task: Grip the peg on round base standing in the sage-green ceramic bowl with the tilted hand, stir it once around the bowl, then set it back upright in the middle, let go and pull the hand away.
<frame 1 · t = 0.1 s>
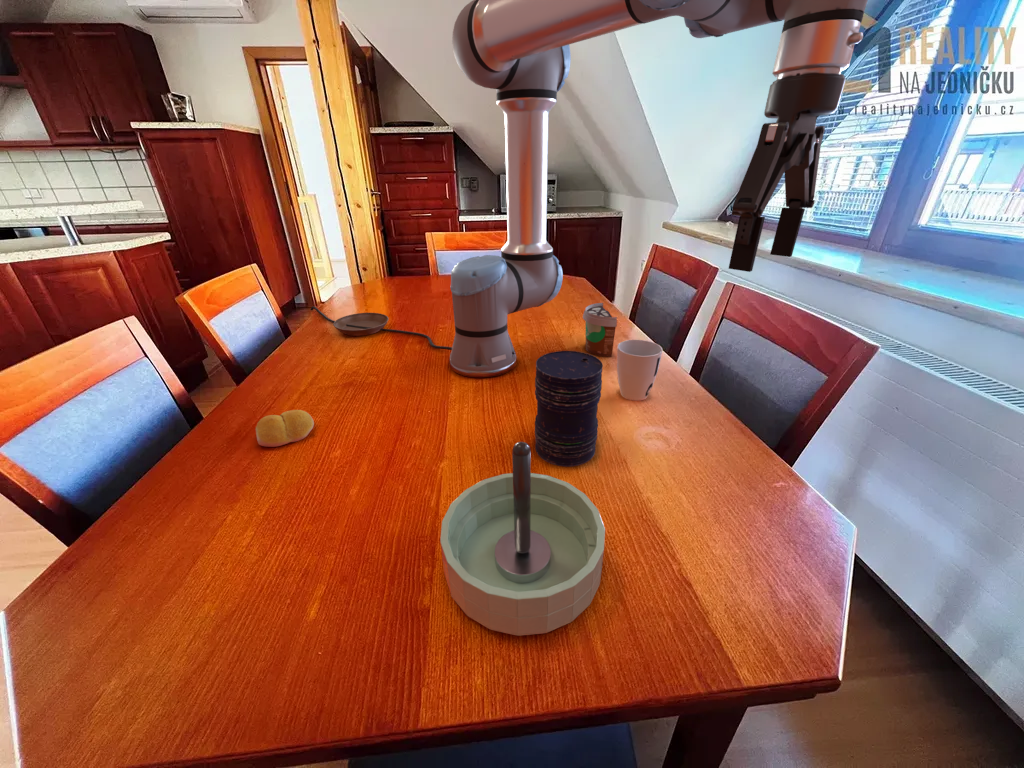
hand: (761, 262, 59), 28 cm above the table, tool pointing down, fingers open, 13 cm apart
peg on round base: (522, 559, 48), point 1 cm above the table, touching bowl
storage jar: (565, 448, 68), on the table
bowl: (522, 562, 49), on the table
food container: (593, 350, 104), on the table
bread roll: (286, 435, 73), on the table
cup: (633, 395, 84), on the table
saucer: (363, 330, 120), on the table
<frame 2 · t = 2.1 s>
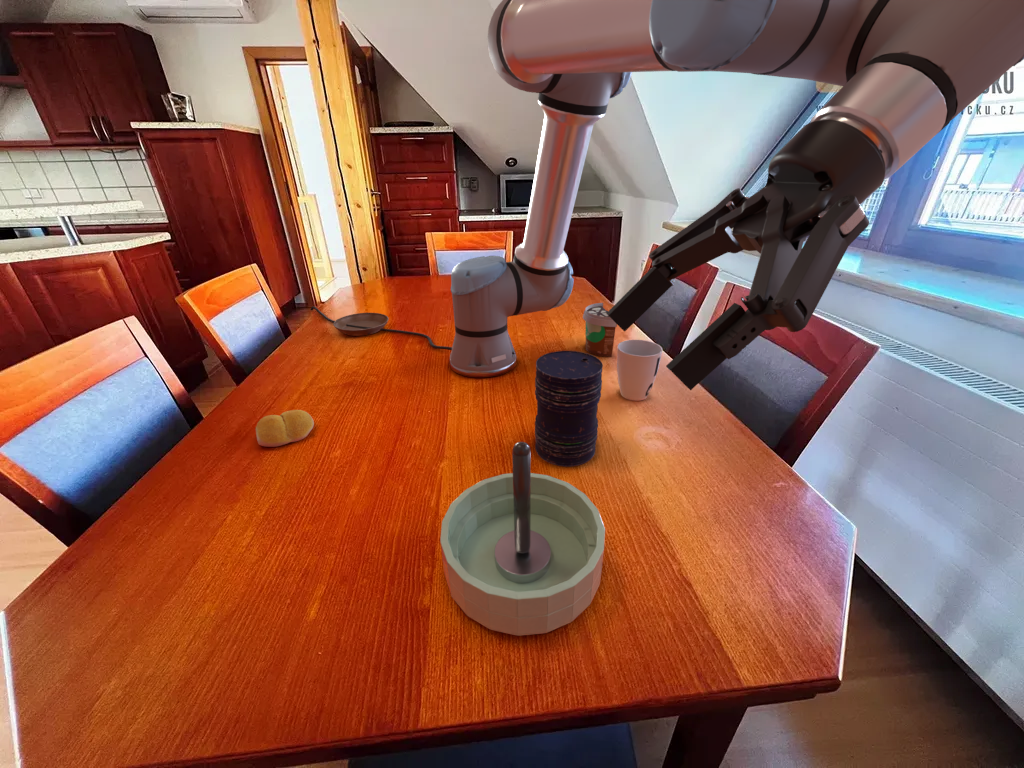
hand: (641, 346, 38), 26 cm above the table, tool tilted 45°, fingers open, 13 cm apart
nothing on the table moved.
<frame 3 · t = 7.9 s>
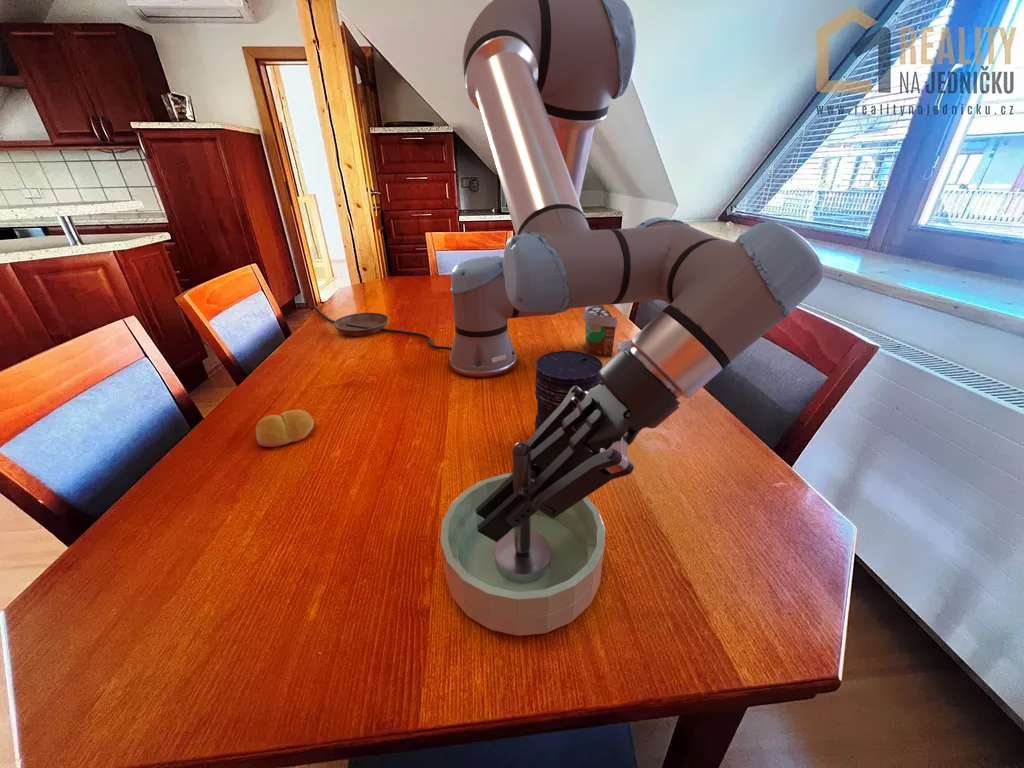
hand: (486, 525, 45), 7 cm above the table, tool tilted 45°, fingers closed on peg on round base, 2 cm apart
peg on round base: (522, 559, 48), point 1 cm above the table, touching gripper
everything else where it was.
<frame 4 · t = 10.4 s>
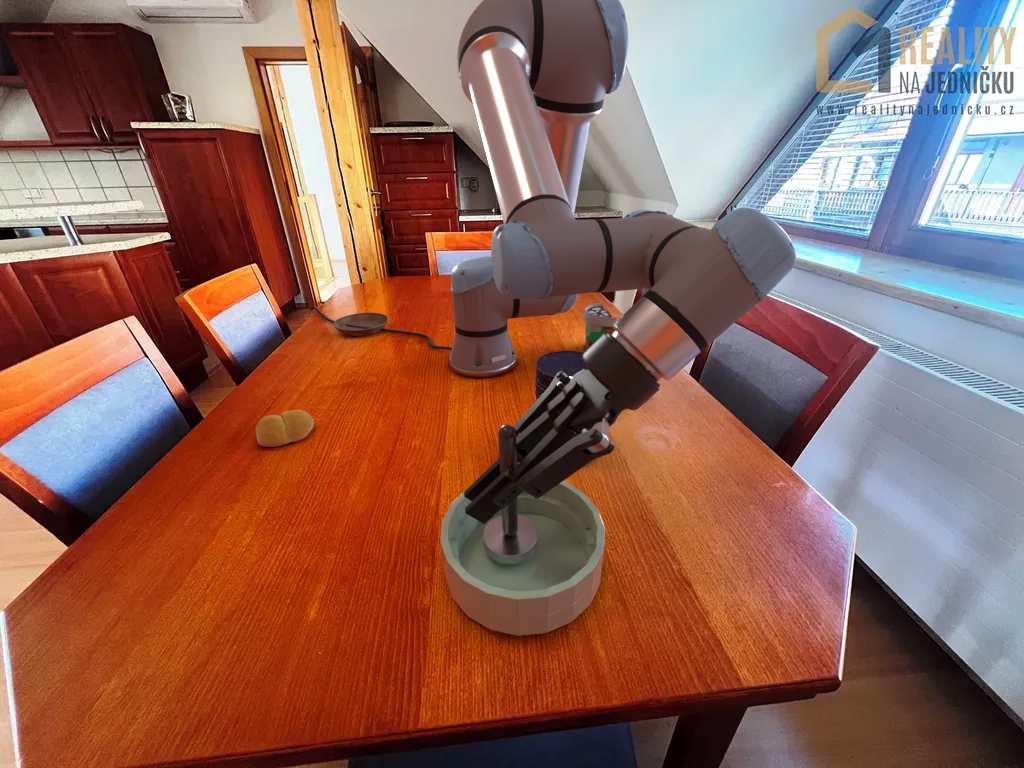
hand: (474, 507, 46), 8 cm above the table, tool tilted 45°, fingers closed on peg on round base, 2 cm apart
peg on round base: (510, 541, 50), point 2 cm above the table, touching gripper
everything else where it was.
when the fingers open (7 cm above the table, at t = 13.2 s): peg on round base stays where it is, resting on bowl.
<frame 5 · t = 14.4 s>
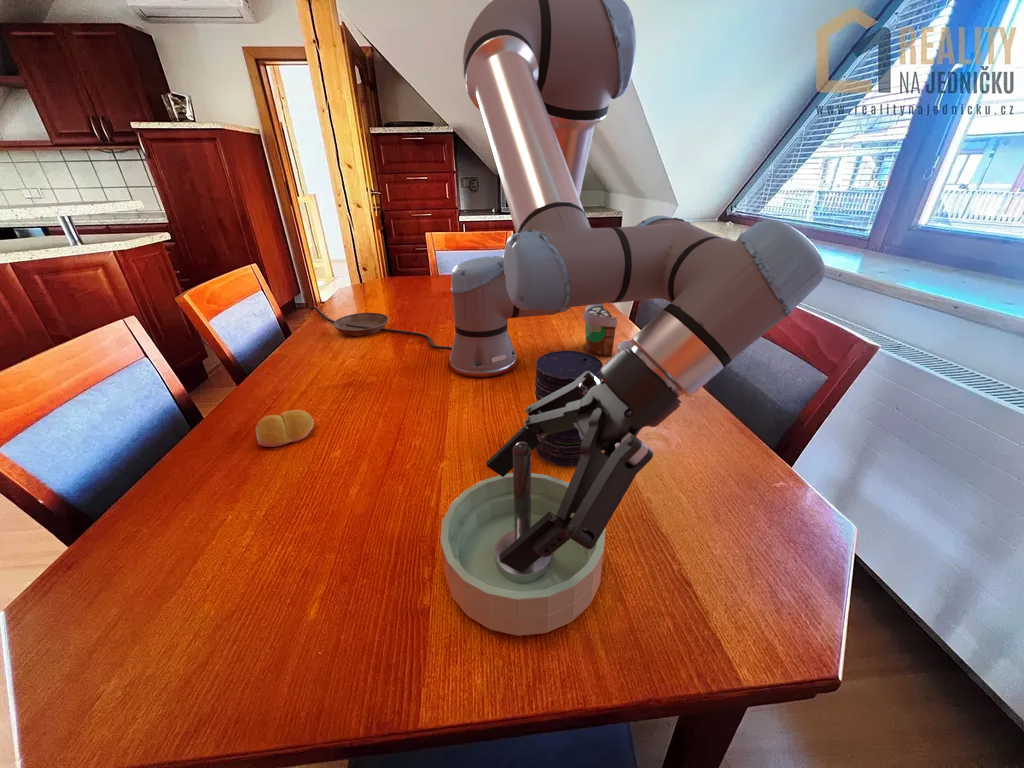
hand: (501, 510, 45), 8 cm above the table, tool tilted 45°, fingers open, 13 cm apart
peg on round base: (523, 559, 48), point 1 cm above the table, touching bowl
everything else where it was.
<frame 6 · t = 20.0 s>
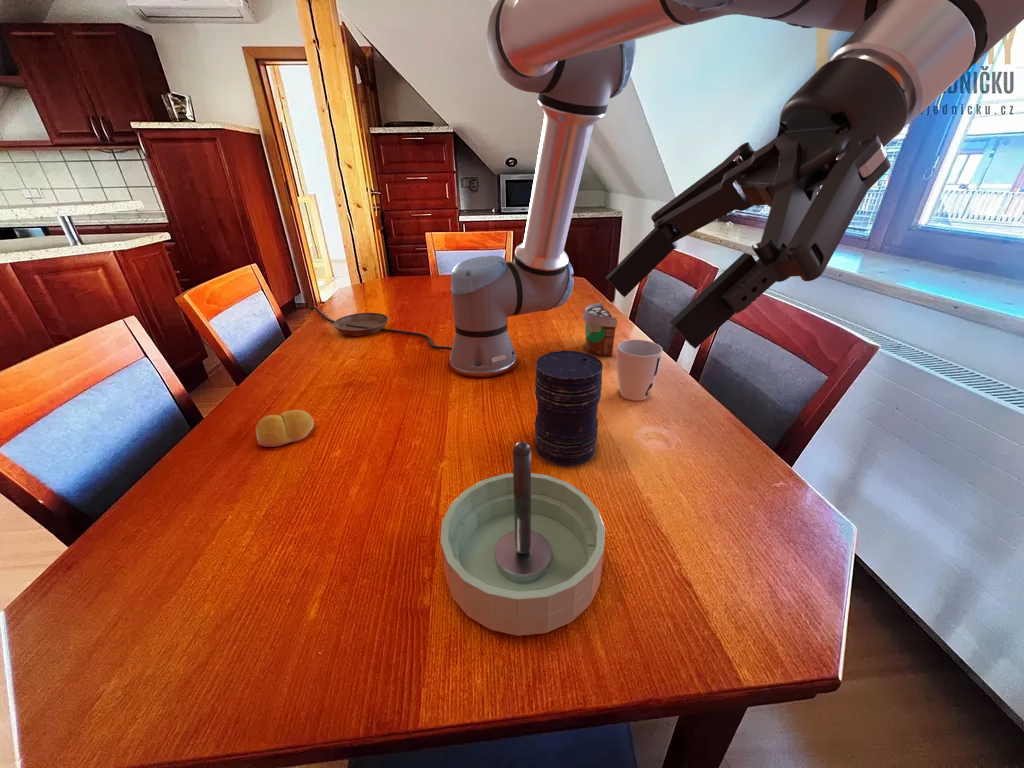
hand: (642, 308, 36), 30 cm above the table, tool tilted 45°, fingers open, 13 cm apart
nothing on the table moved.
at the end: peg on round base inside the target area in the bowl (0.0 cm from its centre), point 0.6 cm above the bowl's base; peg on round base tilted 0°; the gripper is holding nothing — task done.
